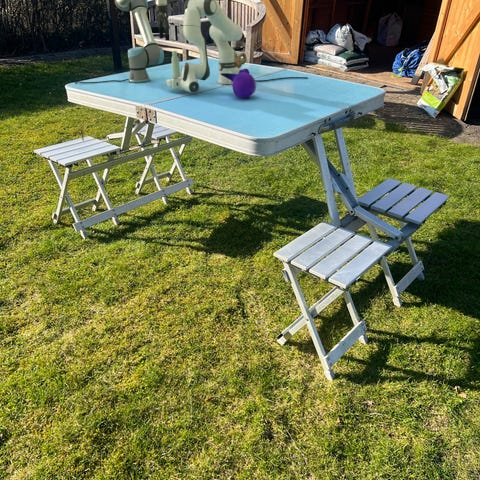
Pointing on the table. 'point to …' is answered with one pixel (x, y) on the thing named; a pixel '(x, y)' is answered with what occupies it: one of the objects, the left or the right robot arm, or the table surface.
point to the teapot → (237, 59)
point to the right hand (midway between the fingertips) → (177, 79)
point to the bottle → (175, 65)
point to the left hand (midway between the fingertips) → (164, 39)
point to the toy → (242, 83)
